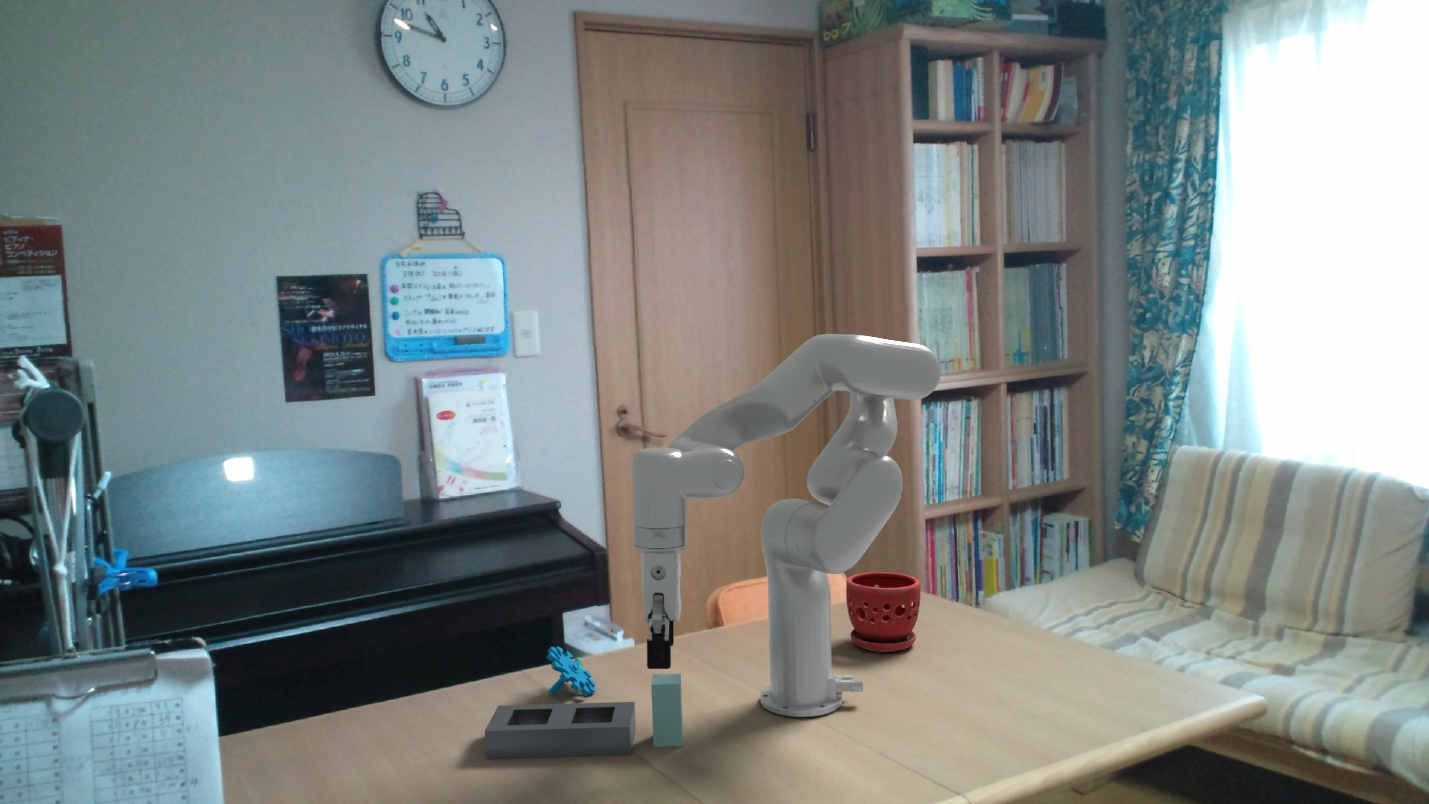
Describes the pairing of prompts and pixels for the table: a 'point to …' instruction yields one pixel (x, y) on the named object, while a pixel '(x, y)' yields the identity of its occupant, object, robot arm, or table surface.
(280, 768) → the table surface
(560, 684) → the gear
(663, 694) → the peg
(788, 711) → the robot arm
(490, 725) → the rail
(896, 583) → the plant pot
